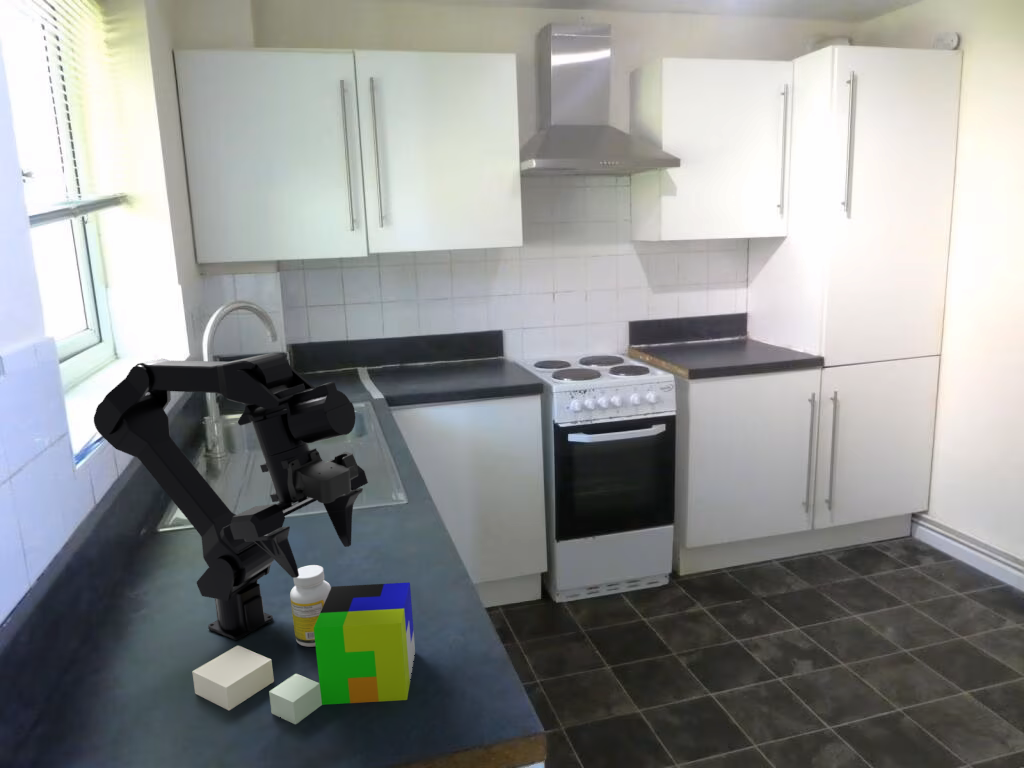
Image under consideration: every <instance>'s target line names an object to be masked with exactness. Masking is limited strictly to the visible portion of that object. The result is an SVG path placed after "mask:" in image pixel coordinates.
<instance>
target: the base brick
mask: <svg viewBox="0 0 1024 768" xmlns="http://www.w3.org/2000/svg"><path fill="white" fill-rule="evenodd" d="M273 670H274V669H273V662H272V659H271V658H269V657H266V656H264V655H262V654H260V653H256V652H254V651H252V650H250V649H247V648H245V647H243V646H241V645H236V646H234V647H233V648H230V649H229V650H227V651H225V652H224V653H222V654H220V655H219V656H216V657H215V658H213V659H212V660H209V661H208V662H206V663H204V664H202V665H200V666H199V667H197V668H196V669H194V670H192V672H191V673H192V678H193V679H192V680H193V687H194V693H195V695H197V696H199V697H201V698H204V699H205V700H207V701H209V702H211V703H213V704H215V705H217V706H219V707H221V708H223V709H224V710H227V711H231V710H233V709H234V708H235V707H237V706H238V705H241V703H243V702H244V701H247V699H249V698H251V697H252V696H254V695H255V694H257V693H258V692H260V691H261V690H263V689H264V688H266V687H268V686H269V685H270V684H273V683H274V682H275V678H274V671H273Z"/></svg>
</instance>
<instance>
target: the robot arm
mask: <svg viewBox="0 0 1024 768" xmlns="http://www.w3.org/2000/svg"><path fill="white" fill-rule="evenodd" d="M285 357H286V356H284V355H283V354H281V353H278V352H270V353H265V354H261V355H259V354H258V355H254V356H250V357H246V358H242V359H235V360H232V361H218V360H217V361H214V360H213V361H212V360H211V361H207V360H169V359H165V358H158V359H154V360H150V361H144V362H140V363H137V364H136V365H134V366H133V367H131V369H130V370H129V371H128V373H127V375H126V377H125V378H124V379H122V381H120V382H119V383H118V384H117V385H116V386H115V387H114V388H113V389H111V390H110V391H109V392H108V393H107V394H106V395H105V396H104V398H103V400H102V401H101V402H100V403H99V404H98V405H97V407H96V409H95V413H94V416H93V423H94V426H95V429H96V430H97V432H98V434H99V435H100V436H102V438H104V440H105V441H107V442H108V443H109V444H110V445H111V446H112V447H113V448H114V449H115V450H117V451H120V452H122V453H124V454H127V455H129V456H132V457H134V458H137V459H138V460H139V461H140V462H141V464H142V465H143V466H144V467H145V469H146V470H147V471H148V472H149V473H150V475H151V476H152V477H153V478H154V479H155V481H156V482H157V484H159V486H160V487H161V488H162V490H163V491H164V492H165V493H166V495H168V497H169V498H170V500H171V501H172V502H173V503H174V504H175V506H176V507H177V508H178V509H179V511H181V513H182V514H183V515H184V517H185V518H186V519H187V520H188V521H189V523H190V524H191V526H192V527H193V528H194V529H195V530H196V532H198V534H199V536H200V538H201V545H202V546H201V547H202V558H203V560H204V561H205V562H206V565H207V567H208V568H207V569H206V570H205V571H204V572H203V574H201V576H200V577H199V578H198V580H197V581H196V585H197V588H198V591H199V593H200V595H201V597H206V598H211V599H214V604H215V611H216V619H217V620H215V621H212V622H211V623H209V624H208V625H207V629H208V630H211V631H212V632H215V633H217V634H220V635H223V636H224V637H227V638H230V639H232V640H234V641H237V640H240V639H242V638H243V637H246V636H248V634H250V633H252V632H254V631H256V630H258V629H259V628H261V627H263V626H265V625H266V624H268V623H270V622H272V621H273V620H274V616H273V615H271V614H269V613H266V612H265V610H264V603H263V596H262V593H261V586H260V585H261V584H260V583H258V580H260V579H261V578H263V577H264V576H267V575H268V574H270V570H271V565H272V564H273V562H274V561H275V562H276V563H277V565H279V566H280V567H281V568H282V569H283V570H284V571H285V572H286V573H287V574H288V575H289V576H290V577H291V578H293V579H294V578H296V577H298V576H299V573H298V569H299V568H298V565H297V562H296V558H295V556H294V553H293V550H292V548H291V547H292V546H291V544H290V542H289V535H290V534H289V533H290V528H291V527H290V525H289V526H283V525H284V523H285V520H286V516H288V515H291V514H292V513H295V512H297V511H299V510H300V509H302V508H304V507H307V506H309V505H310V504H312V503H314V502H316V501H317V502H318V503H321V504H323V506H324V508H325V511H326V512H327V515H328V517H329V519H330V521H331V523H332V526H333V528H334V530H335V532H336V534H337V536H338V539H339V540H340V542H341V544H342V545H343V547H346V548H348V547H350V546H351V545H352V528H353V526H352V525H353V523H352V522H353V509H354V504H355V502H356V500H357V498H358V497H359V495H360V494H362V493H363V491H364V489H363V486H366V485H367V484H369V481H368V478H367V474H366V472H365V471H366V470H364V469H363V468H362V467H360V465H358V463H357V461H356V458H355V457H354V454H353V453H351V452H350V451H349V452H348V451H344V452H342V453H339V454H337V455H335V456H334V459H330V460H328V461H325V460H323V459H322V457H321V455H320V451H318V450H317V448H316V447H315V448H310V447H309V444H315V443H317V442H323V441H326V440H330V439H334V438H338V437H342V436H343V437H344V436H346V435H349V434H350V433H351V432H352V431H353V430H354V427H355V425H356V412H355V406H354V404H353V402H351V401H350V399H349V397H348V396H347V395H346V394H345V393H344V392H342V391H340V390H338V388H337V386H336V383H335V382H334V381H331V382H327V383H324V384H321V385H318V386H316V387H315V386H314V385H312V384H311V383H310V382H309V381H308V380H307V379H306V378H305V377H303V376H302V375H301V374H300V373H299V372H298V371H296V369H294V368H293V367H292V366H291V365H290V363H289V361H288V360H286V358H285ZM171 392H178V393H179V392H181V393H203V394H204V393H205V394H206V393H207V394H216V395H217V394H218V395H220V396H223V397H224V399H226V400H228V401H230V402H234V403H238V404H242V405H245V406H244V410H243V412H242V414H241V416H239V419H238V420H237V424H238V425H239V426H244V425H249V424H252V427H253V430H254V432H255V435H256V439H257V441H258V445H259V448H260V451H261V453H262V456H263V459H264V462H265V463H262V464H260V466H259V467H260V470H261V472H262V473H267V472H268V473H269V474H268V475H269V477H270V480H271V483H272V486H273V489H274V493H271V494H270V495H269V496H270V499H271V502H272V503H273V504H264V505H263V504H262V505H257V506H256V505H255V506H253V507H251V508H249V509H246V510H244V511H242V512H240V513H238V514H235V513H233V512H232V510H230V509H229V507H228V506H227V504H225V503H224V501H223V500H222V499H221V498H220V496H219V494H217V493H216V491H215V490H214V489H213V488H212V487H211V484H209V483H208V481H207V480H206V479H205V477H204V476H203V475H202V474H201V473H200V472H199V471H198V469H197V468H196V467H195V465H194V464H193V463H192V462H191V460H190V459H189V458H188V456H187V455H185V453H184V452H183V451H182V450H181V449H180V447H179V445H177V443H176V442H175V441H174V439H172V437H171V431H170V419H169V416H168V414H167V413H166V411H165V410H166V409H167V406H168V405H169V403H170V401H171V398H172V397H171V396H172V395H171ZM277 502H278V503H277Z"/></svg>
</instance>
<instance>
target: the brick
mask: <svg viewBox="0 0 1024 768" xmlns="http://www.w3.org/2000/svg"><path fill="white" fill-rule="evenodd" d="M268 694H269V703H270V711H271V714H272V715H274V716H276V717H278V718H280V717H281V719H282V720H285V721H286V722H290V723H292V724H293V725H297V724H299V723H300V722H301V721H302V720H304V719H305V718H306V717H308V716H310V714H312V713H313V712H314V711H316V710H317V709H318V708H320V707H321V706H323V705H322V701H321V691H320V683H319V681H315V680H313V679H310V678H308V677H306V676H303V675H300V674H298V673H294V674H292V675H291V676H290V677H288V678H287V679H285V680H284V681H283V682H281V683H280V684H278V685H277V686H275V687H274V688H272V689H270V690H269V691H268Z"/></svg>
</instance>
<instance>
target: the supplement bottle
mask: <svg viewBox="0 0 1024 768" xmlns="http://www.w3.org/2000/svg"><path fill="white" fill-rule="evenodd" d="M324 570H325V569H324V567H323V566H321V565H317V564H310V565H304V566H301V567H299V568H298V573H299V576H298V577H296V578H293V584H294V586H293V587H292V589H291V590H290V593H289V596H290V605H291V606H290V607H291V614H292V621H293V622H292V623H293V630H294V631H293V632H294V638H295V641H296V642H297V644H299V645H300V646H303V647H308V648H310V647H316V645H315V636H314V626H315V624H316V621H317V619H318V617H319V615H320V612H321V610H322V608H323V605H324V603H325V601H326V599H327V596H328V594H329V592H330V589H331V587H332V586H331V584H330V583H329V582H328V581H326V580H325V571H324Z"/></svg>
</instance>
